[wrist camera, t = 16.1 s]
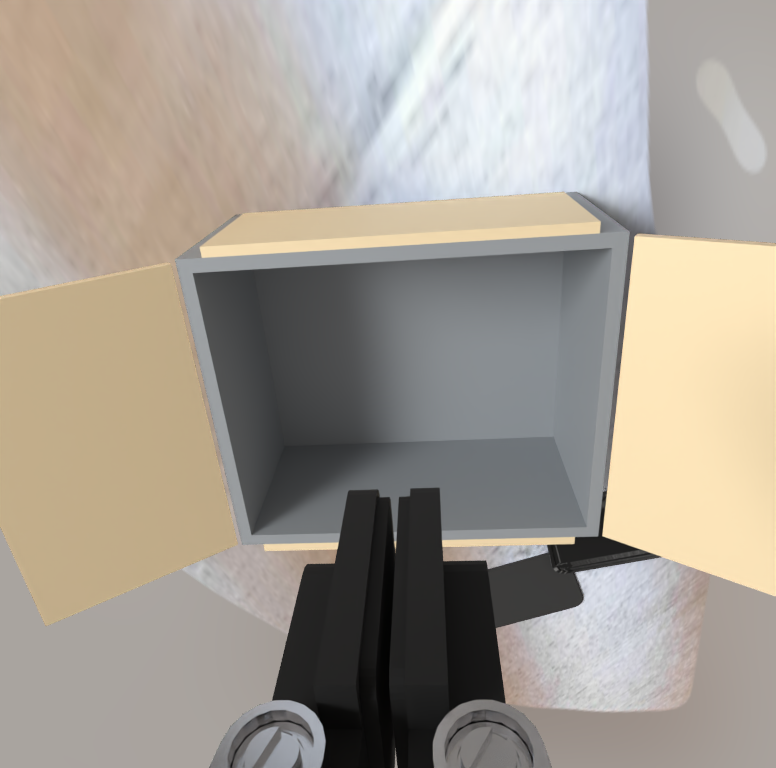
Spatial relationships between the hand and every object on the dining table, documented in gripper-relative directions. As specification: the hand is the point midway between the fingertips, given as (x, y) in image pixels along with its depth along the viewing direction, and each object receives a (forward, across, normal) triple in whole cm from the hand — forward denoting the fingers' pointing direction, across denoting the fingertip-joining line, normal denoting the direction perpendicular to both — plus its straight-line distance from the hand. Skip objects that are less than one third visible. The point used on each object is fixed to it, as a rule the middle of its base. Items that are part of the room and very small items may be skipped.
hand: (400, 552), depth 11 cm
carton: (+35, +1, +10) cm, 37 cm away
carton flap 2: (+20, -16, +10) cm, 27 cm away
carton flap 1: (+19, +18, +10) cm, 28 cm away
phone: (+36, -6, +38) cm, 52 cm away
